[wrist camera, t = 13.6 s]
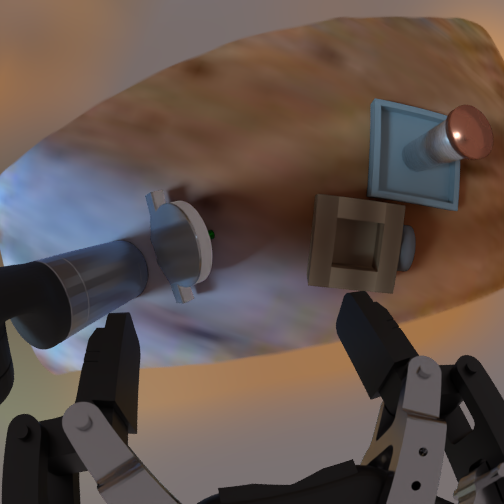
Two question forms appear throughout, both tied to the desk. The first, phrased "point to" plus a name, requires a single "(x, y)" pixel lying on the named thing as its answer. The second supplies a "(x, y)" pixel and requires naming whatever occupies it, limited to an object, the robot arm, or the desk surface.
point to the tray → (393, 167)
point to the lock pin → (451, 140)
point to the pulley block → (358, 244)
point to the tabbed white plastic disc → (180, 243)
